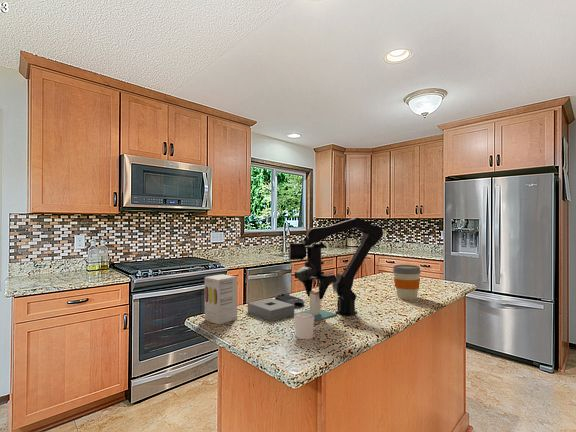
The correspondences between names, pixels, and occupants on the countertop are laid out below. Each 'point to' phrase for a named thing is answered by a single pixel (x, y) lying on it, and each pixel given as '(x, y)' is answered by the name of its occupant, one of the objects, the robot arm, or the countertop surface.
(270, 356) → the countertop surface
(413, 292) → the reusable coffee cup
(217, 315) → the supplement box
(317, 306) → the plug
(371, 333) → the countertop surface
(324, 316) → the mat
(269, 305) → the grey flat block
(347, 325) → the countertop surface
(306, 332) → the white cylinder
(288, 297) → the electronic device
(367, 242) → the robot arm
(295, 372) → the countertop surface
